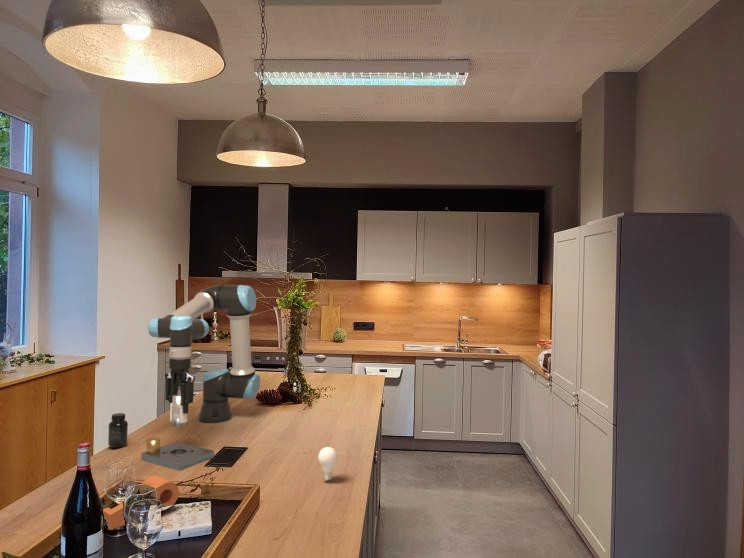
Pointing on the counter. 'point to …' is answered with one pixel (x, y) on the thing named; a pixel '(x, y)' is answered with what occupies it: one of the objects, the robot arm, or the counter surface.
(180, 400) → the rounded peg
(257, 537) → the counter surface
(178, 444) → the plate
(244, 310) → the robot arm
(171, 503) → the crank
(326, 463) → the lightbulb
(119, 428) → the supplement bottle
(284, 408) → the counter surface
